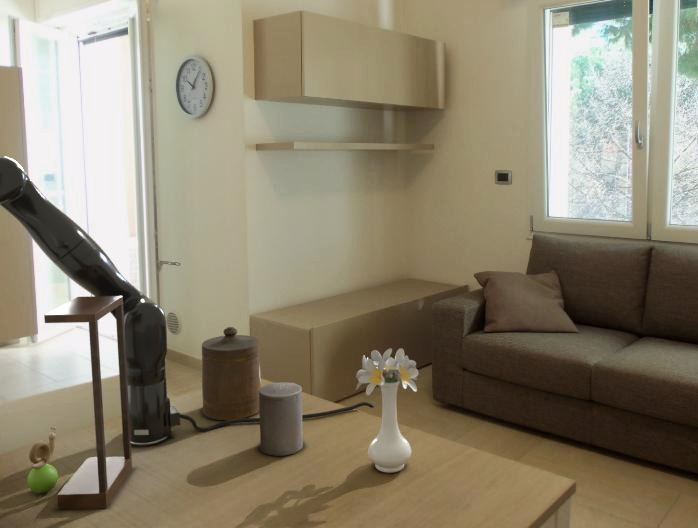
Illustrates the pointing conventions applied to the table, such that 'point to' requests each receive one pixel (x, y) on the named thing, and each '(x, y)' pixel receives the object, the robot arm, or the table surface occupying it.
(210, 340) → the wooden container
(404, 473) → the table surface
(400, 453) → the flower vase
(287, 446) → the pillar candle
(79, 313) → the shelf unit
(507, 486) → the table surface
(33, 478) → the snail figurine
